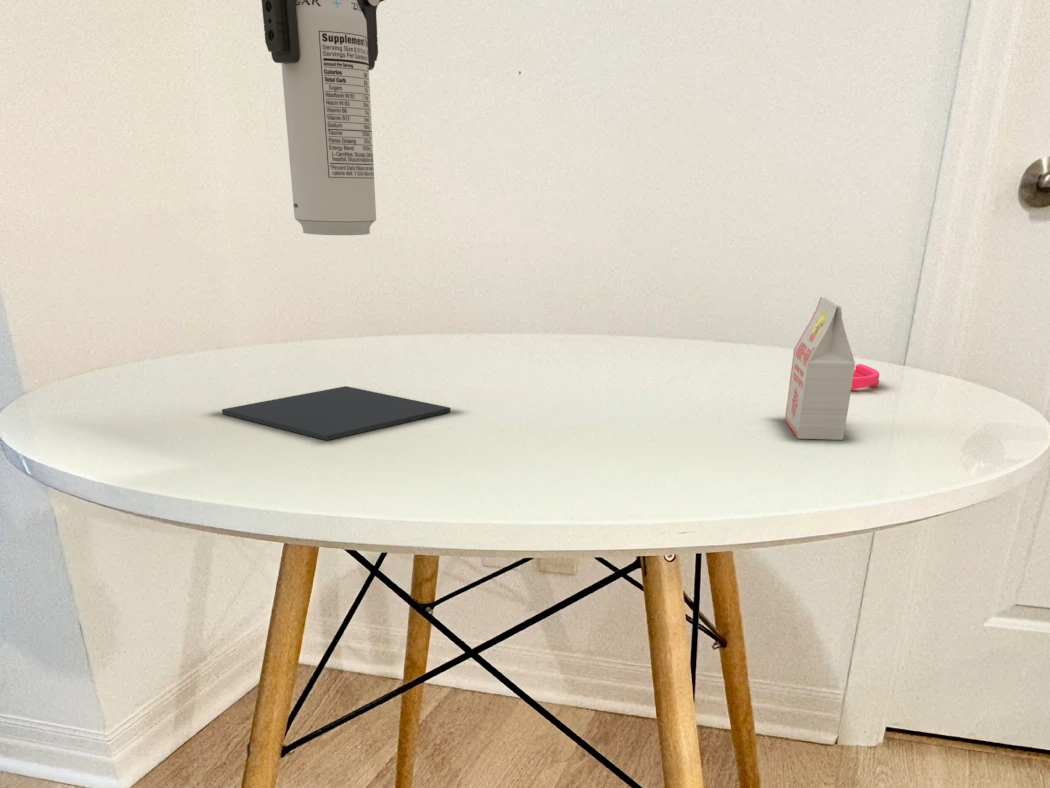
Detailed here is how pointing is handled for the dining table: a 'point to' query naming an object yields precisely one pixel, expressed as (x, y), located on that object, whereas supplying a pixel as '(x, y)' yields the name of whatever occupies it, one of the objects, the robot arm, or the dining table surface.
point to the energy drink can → (330, 120)
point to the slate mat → (335, 412)
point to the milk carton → (821, 377)
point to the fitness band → (865, 377)
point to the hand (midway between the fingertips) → (324, 65)
